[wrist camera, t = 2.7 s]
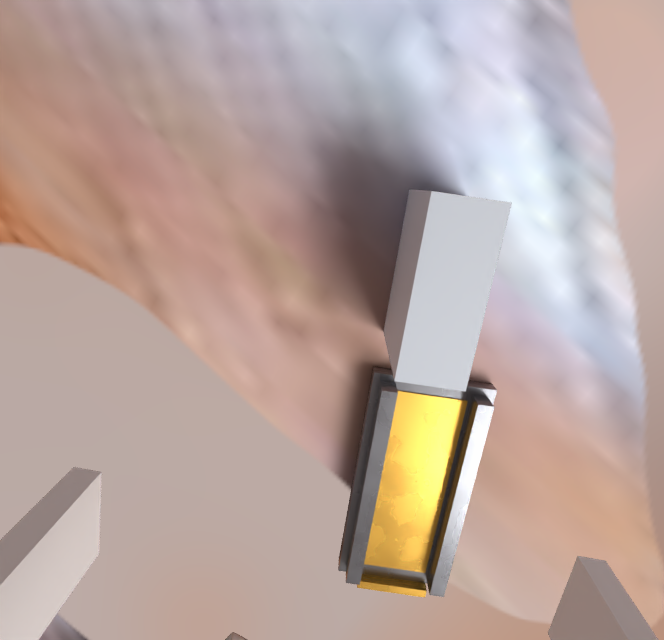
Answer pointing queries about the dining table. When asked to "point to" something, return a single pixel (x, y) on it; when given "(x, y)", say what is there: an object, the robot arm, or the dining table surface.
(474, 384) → the grey rectangular tray
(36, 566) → the robot arm
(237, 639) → the tea box
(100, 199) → the dining table surface
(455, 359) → the white rectangular block
